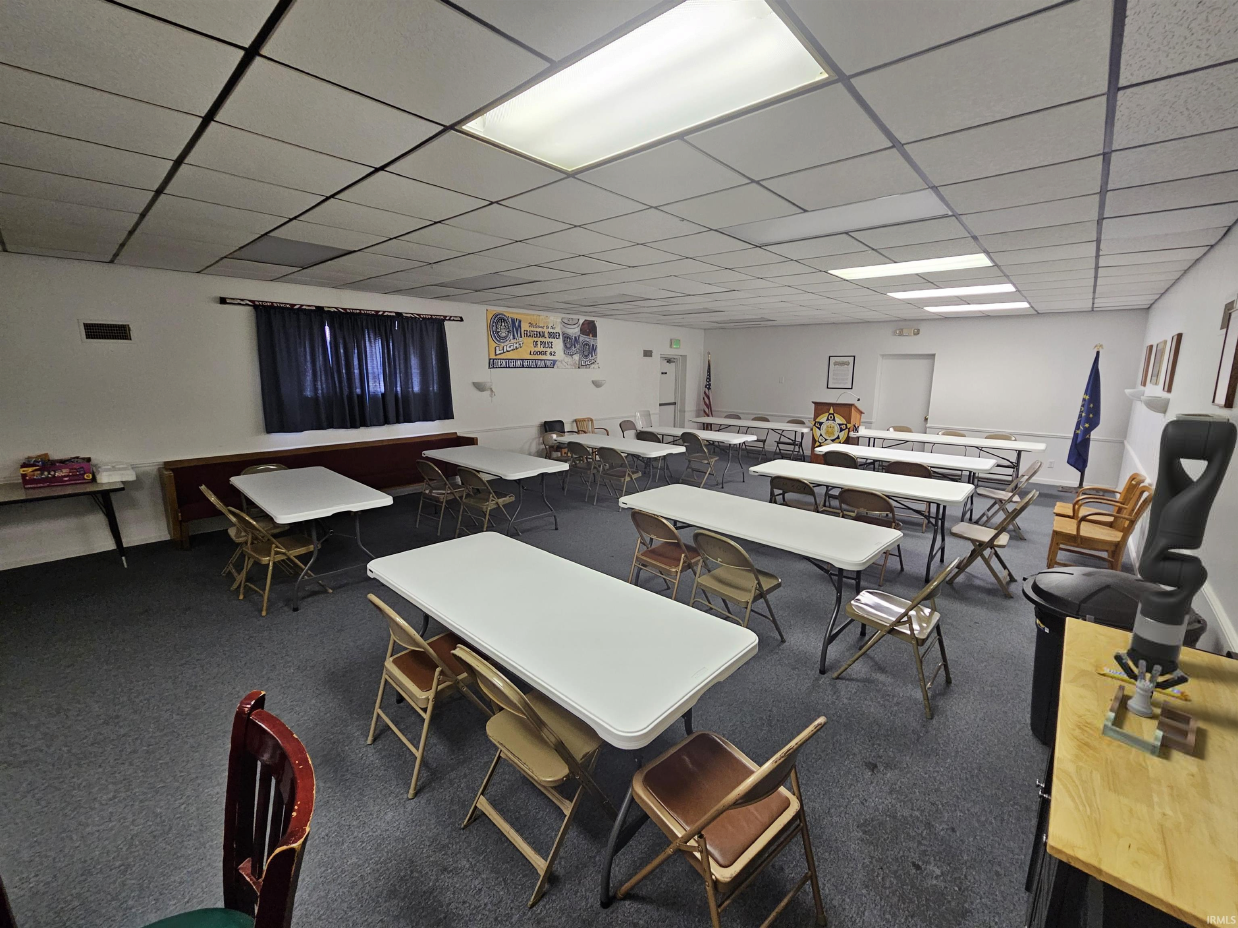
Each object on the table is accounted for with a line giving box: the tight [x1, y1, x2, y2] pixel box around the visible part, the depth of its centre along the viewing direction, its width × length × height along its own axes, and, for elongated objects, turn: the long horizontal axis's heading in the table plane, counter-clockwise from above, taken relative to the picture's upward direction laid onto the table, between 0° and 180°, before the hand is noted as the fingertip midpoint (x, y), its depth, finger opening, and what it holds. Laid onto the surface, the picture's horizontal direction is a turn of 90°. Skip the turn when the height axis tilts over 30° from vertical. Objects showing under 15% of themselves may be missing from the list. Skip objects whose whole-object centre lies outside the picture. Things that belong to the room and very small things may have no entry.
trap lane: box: [1101, 684, 1199, 758], centre depth 110 cm, size 23×13×2 cm, turn 128°
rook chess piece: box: [1126, 679, 1155, 718], centre depth 115 cm, size 4×4×8 cm
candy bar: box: [1094, 664, 1190, 701], centre depth 125 cm, size 17×4×2 cm, turn 44°
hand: (1142, 697), depth 119 cm, fingers closed
